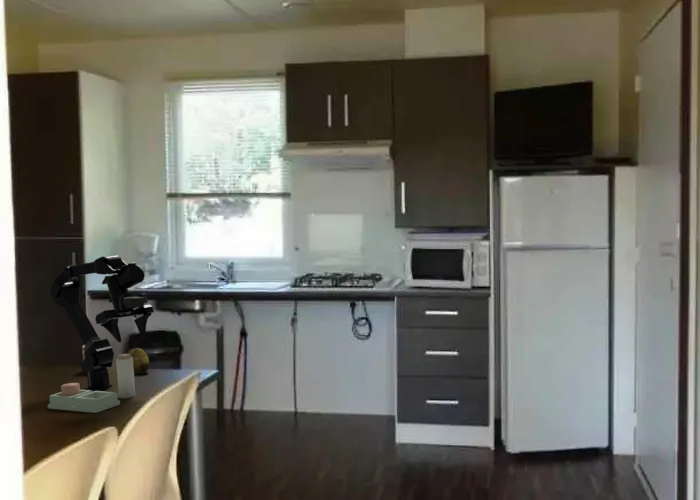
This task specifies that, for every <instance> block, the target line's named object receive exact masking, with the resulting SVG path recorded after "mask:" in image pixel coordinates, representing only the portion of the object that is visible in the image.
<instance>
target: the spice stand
mask: <svg viewBox="0 0 700 500" xmlns="http://www.w3.org/2000/svg"><path fill="white" fill-rule="evenodd" d="M60 387H61V391H60V392H57V393H54V394H50V395H49V403H48V404H47V409H51V410H63V411H73V412H81V413H82V412H83V413H92V414H93V413H95V414H96V413H99V412H103V411H105V410H107V409H111V408H114V407H116V406H119V405H121V400H119V395H118V391H117V392H114V391H105V390H104V391H102V390H94V391H93V390H92V389H81V387H80V383H79V382H69V383H64V384H62V385H61V386H60Z"/></svg>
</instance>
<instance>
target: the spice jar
mask: <svg viewBox="0 0 700 500" xmlns="http://www.w3.org/2000/svg"><path fill="white" fill-rule="evenodd" d="M115 365H116V378H117V395H118V399H131V398H135V397H136V387H135V386H136V385H135V373H134V369H133V357H131V354H128V353H123V354H118V355H117V358H116V359H115Z"/></svg>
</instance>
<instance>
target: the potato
mask: <svg viewBox="0 0 700 500" xmlns="http://www.w3.org/2000/svg"><path fill="white" fill-rule="evenodd" d="M127 354H131V357H133V369H134V374H145V373H146V372H148V370H149V368H150V358H149V355H148V353H146V352H145V350H144V349H142V348H139V347H136V348H135V347H134V348H131V349H130V350H129V351H128V352H127Z"/></svg>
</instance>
